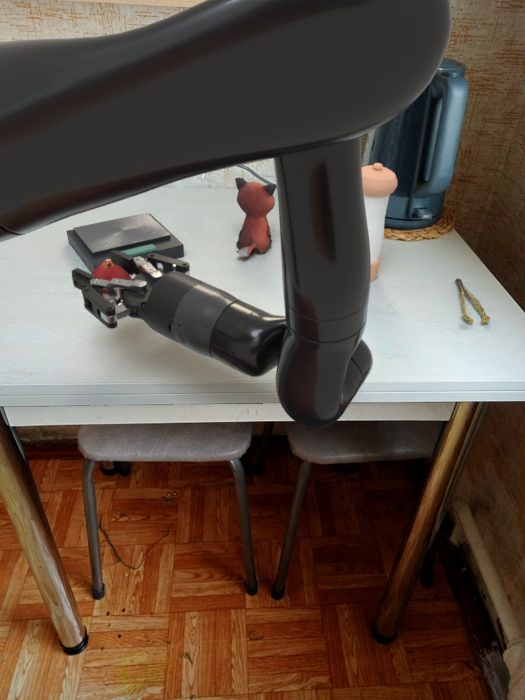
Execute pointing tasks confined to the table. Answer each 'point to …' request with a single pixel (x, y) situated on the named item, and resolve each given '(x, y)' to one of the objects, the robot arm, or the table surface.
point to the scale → (123, 239)
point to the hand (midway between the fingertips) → (94, 266)
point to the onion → (110, 273)
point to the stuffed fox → (254, 215)
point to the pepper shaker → (376, 207)
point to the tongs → (475, 301)
